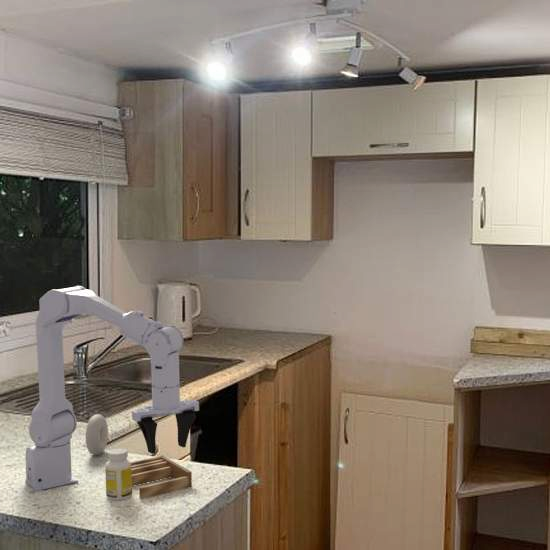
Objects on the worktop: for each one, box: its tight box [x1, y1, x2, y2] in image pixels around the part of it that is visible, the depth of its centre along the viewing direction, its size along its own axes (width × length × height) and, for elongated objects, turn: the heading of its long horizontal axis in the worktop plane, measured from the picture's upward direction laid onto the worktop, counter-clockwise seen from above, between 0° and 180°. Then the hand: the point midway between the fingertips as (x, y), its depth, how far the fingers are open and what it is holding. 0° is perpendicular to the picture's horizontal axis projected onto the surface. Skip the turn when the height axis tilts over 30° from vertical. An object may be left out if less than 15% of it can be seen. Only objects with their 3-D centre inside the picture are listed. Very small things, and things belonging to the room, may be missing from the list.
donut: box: [85, 413, 109, 456], centre depth 186 cm, size 10×4×10 cm, turn 175°
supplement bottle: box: [104, 448, 133, 501], centre depth 158 cm, size 5×5×10 cm
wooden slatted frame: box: [130, 455, 193, 500], centre depth 166 cm, size 12×14×3 cm
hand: (167, 449), depth 157 cm, fingers open, 6 cm apart
